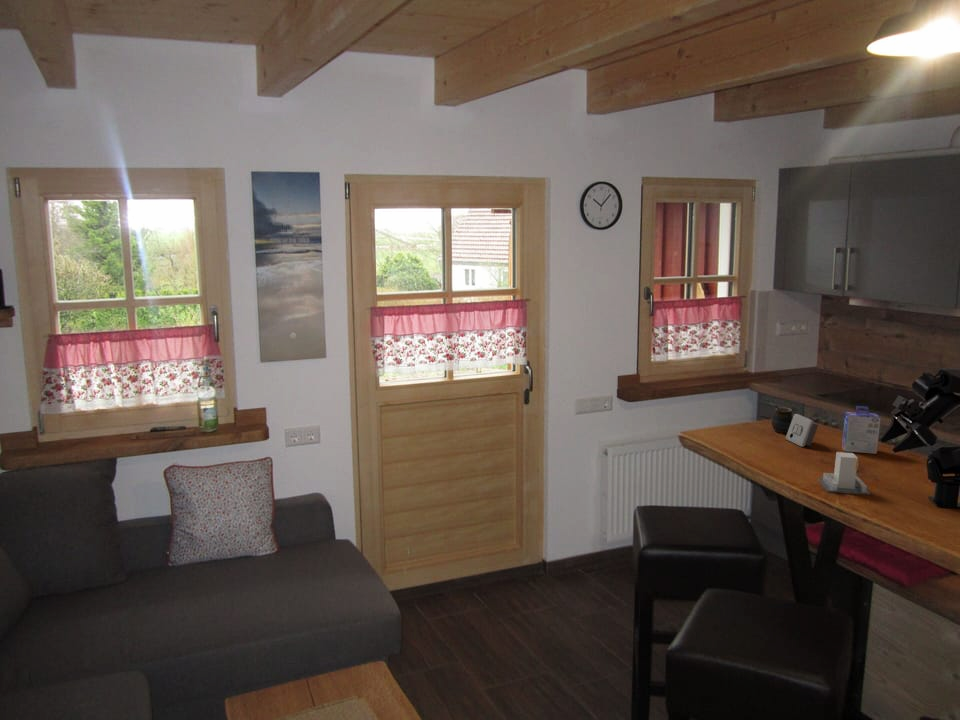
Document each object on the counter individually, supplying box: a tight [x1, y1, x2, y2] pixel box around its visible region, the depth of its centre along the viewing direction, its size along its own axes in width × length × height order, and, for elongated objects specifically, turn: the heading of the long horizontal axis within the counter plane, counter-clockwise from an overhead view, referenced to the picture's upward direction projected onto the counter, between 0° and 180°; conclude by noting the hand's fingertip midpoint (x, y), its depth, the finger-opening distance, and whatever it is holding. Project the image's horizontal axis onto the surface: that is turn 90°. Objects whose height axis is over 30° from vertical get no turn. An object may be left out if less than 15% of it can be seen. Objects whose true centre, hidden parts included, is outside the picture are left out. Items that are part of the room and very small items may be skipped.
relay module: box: [833, 451, 860, 489], centre depth 220 cm, size 4×5×9 cm
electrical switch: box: [785, 413, 819, 448], centre depth 262 cm, size 9×5×9 cm, turn 13°
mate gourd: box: [771, 404, 793, 434], centre depth 275 cm, size 7×8×10 cm
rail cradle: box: [817, 472, 871, 496], centre depth 221 cm, size 10×11×2 cm
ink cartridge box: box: [841, 405, 882, 455], centre depth 254 cm, size 10×6×14 cm, turn 78°
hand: (887, 446), depth 215 cm, fingers open, 9 cm apart
